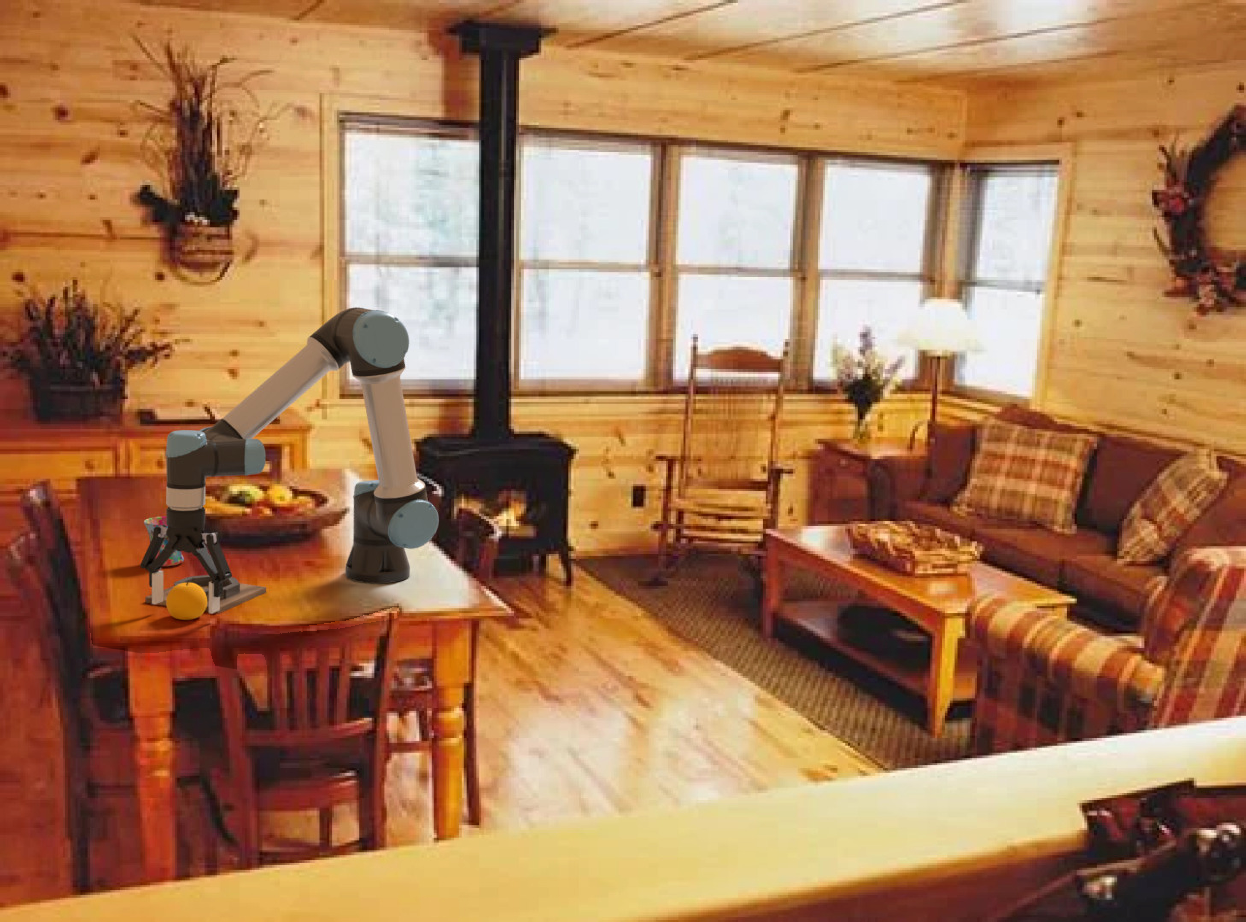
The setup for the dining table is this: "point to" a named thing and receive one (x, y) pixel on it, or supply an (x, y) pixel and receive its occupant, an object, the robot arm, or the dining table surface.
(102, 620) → the dining table surface
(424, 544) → the robot arm
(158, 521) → the mug
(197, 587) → the orange fruit
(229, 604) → the ring board
